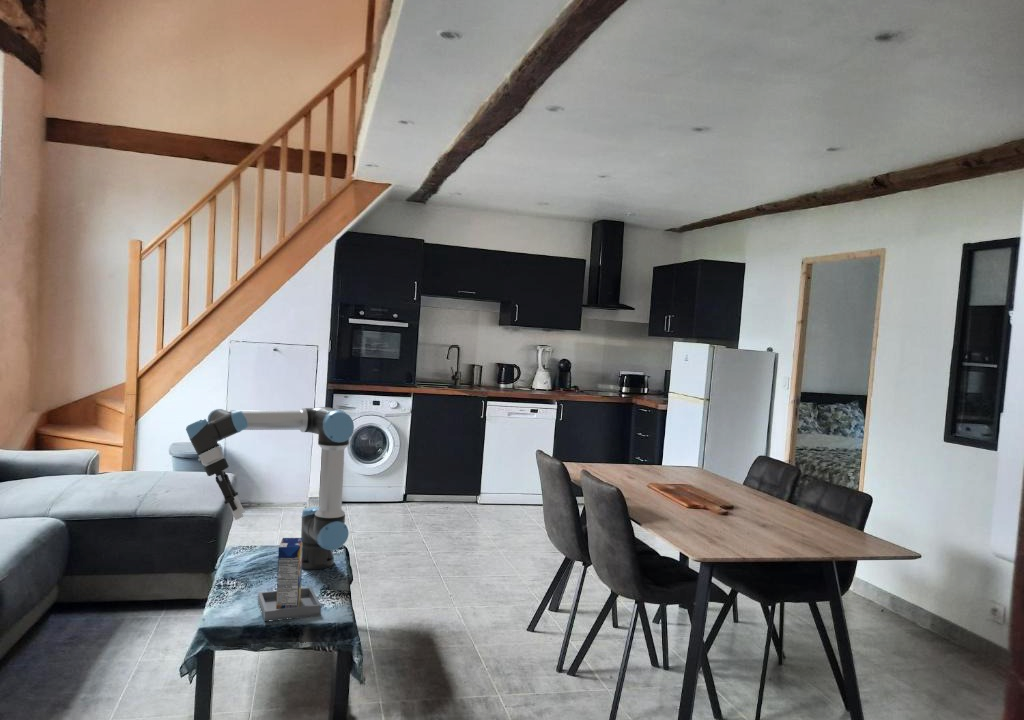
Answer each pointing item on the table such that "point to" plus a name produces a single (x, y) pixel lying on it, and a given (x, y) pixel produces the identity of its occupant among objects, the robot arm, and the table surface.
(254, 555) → the table surface
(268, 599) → the tray
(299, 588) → the beverage box
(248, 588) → the table surface
